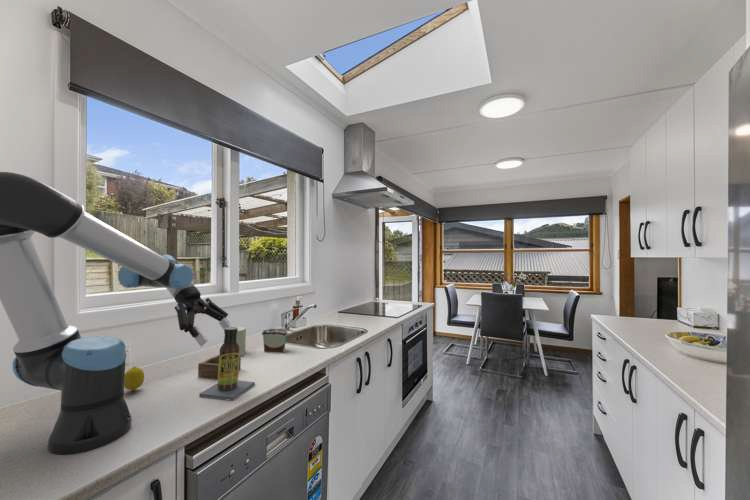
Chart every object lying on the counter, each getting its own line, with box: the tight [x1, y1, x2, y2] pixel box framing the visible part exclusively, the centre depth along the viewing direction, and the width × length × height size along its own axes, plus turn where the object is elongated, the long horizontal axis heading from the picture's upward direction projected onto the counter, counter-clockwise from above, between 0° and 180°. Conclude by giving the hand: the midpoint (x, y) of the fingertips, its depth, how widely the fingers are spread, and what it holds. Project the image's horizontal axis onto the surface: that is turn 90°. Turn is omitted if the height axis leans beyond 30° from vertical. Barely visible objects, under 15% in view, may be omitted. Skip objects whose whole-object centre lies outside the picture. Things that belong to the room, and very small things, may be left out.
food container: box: [261, 328, 288, 354], centre depth 147 cm, size 12×6×10 cm, turn 84°
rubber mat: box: [198, 379, 256, 401], centre depth 103 cm, size 12×12×1 cm
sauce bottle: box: [216, 326, 240, 390], centre depth 103 cm, size 6×6×20 cm
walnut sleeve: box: [197, 354, 242, 380], centre depth 118 cm, size 10×10×5 cm
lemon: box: [124, 366, 145, 392], centre depth 101 cm, size 6×6×8 cm
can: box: [236, 326, 247, 357], centre depth 141 cm, size 9×9×12 cm
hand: (219, 338), depth 105 cm, fingers open, 13 cm apart
